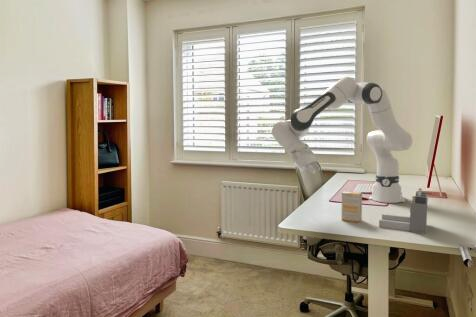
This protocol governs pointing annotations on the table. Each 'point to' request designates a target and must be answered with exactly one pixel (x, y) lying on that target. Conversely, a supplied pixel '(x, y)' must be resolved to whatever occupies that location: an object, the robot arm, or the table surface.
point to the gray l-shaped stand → (416, 216)
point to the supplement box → (351, 206)
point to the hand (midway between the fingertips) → (316, 171)
